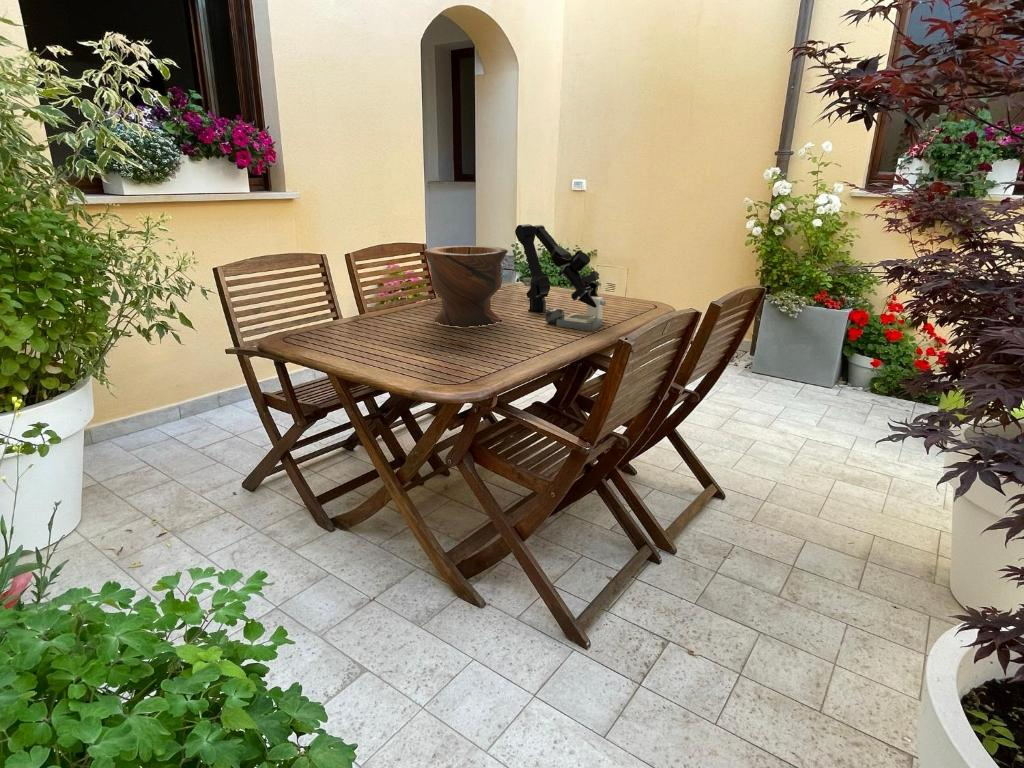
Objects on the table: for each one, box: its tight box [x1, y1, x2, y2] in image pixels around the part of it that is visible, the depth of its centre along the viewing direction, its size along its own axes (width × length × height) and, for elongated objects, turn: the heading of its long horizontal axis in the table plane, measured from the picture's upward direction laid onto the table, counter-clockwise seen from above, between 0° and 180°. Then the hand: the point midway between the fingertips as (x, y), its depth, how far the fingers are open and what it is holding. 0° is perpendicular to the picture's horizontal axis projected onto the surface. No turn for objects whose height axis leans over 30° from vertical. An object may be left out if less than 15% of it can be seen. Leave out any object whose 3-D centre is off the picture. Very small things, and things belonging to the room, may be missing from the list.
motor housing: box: [544, 308, 603, 332], centre depth 250 cm, size 22×10×6 cm, turn 62°
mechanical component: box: [521, 277, 532, 290], centre depth 303 cm, size 3×10×10 cm, turn 89°
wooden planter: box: [423, 245, 508, 327], centre depth 255 cm, size 34×35×29 cm
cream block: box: [586, 296, 607, 320], centre depth 257 cm, size 7×5×10 cm
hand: (598, 305), depth 256 cm, fingers closed on cream block, 5 cm apart
